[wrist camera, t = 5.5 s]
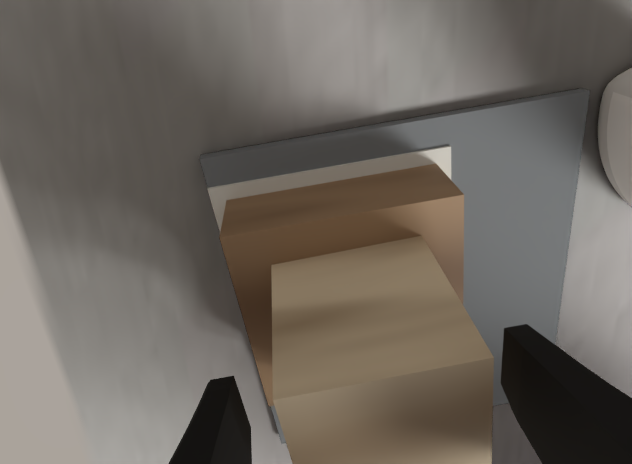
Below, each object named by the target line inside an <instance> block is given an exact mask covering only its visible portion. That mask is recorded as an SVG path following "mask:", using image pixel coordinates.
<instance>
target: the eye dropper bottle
mask: <svg viewBox="0 0 632 464" xmlns="http://www.w3.org/2000/svg"><path fill="white" fill-rule="evenodd" d="M598 145H599V152H600V157H601V161H602V164H603V167H604V170H605V172H606V175H607V177H608V179H609V181H610V182H611V184H612V186H613V187H614V188H615V190H616V191H617V193H618V194H619V195H620V196H621V197H622V199H623V200H624V201H625V202H626V203H627V204H628V205H630V206H631V207H632V68H630V69H628V70H626V71H624V72H623V73H621V74H619V75H618V76H616V77H615V78H614V79H613V80H612V81H610V82H609V83H608V85H607V87H606V88H605V90H604V92H603V96H602V100H601V104H600V110H599V119H598Z"/></svg>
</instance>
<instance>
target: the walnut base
mask: <svg viewBox="0 0 632 464" xmlns="http://www.w3.org/2000/svg"><path fill="white" fill-rule="evenodd" d="M417 236H422V237H423V238H424V240H425V242H426V243H427V245H428V247H429V249H430V250H431V252H432V254H433V255H434V257H435V259H436V260H437V262H438V264H439V265H440V267H441V269H442V270H443V272H444V274H445V276H446V277H447V279H448V281H449V282H450V284H451V286H452V287H453V289H454V291H455V292H456V294H457V296H458V298H459V299H460V301H461V303H462V304H463V280H464V194H463V193H462V192H461V191H460V189H459V188H458V187H457V186H456V185H455V184H454V183H453V182H452V181H451V179H450V178H449V177H448V176H447V175H446V174H445V173H444V172H443V170H442V169H441V168H440V167H439V166H438V165H437V164H431V165H425V166H419V167H413V168H408V169H402V170H396V171H391V172H385V173H379V174H373V175H368V176H362V177H356V178H351V179H345V180H339V181H333V182H328V183H322V184H316V185H311V186H305V187H299V188H293V189H288V190H282V191H276V192H271V193H265V194H259V195H253V196H248V197H242V198H236V199H231V200H226V205H225V210H224V216H223V221H222V226H221V232H220V237H219V238H220V241H221V245H222V248H223V252H224V255H225V259H226V262H227V265H228V269H229V272H230V276H231V279H232V283H233V286H234V289H235V293H236V296H237V300H238V303H239V307H240V310H241V313H242V317H243V320H244V324H245V327H246V331H247V334H248V337H249V341H250V344H251V348H252V351H253V354H254V358H255V361H256V365H257V368H258V372H259V375H260V378H261V382H262V385H263V389H264V392H265V396H266V399H267V402H268V406H273V405H274V403H273V372H272V275H271V265H274V264H279V263H284V262H290V261H295V260H300V259H305V258H310V257H315V256H320V255H325V254H330V253H336V252H341V251H346V250H351V249H356V248H361V247H366V246H371V245H376V244H382V243H387V242H392V241H397V240H402V239H407V238H412V237H417Z"/></svg>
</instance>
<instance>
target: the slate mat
mask: <svg viewBox="0 0 632 464" xmlns="http://www.w3.org/2000/svg"><path fill="white" fill-rule="evenodd" d="M589 95H590V91H589V90H586V89H583V88H581V89H575V90H569V91H563V92H558V93H552V94H546V95H541V96H535V97H529V98H523V99H518V100H512V101H506V102H500V103H495V104H489V105H483V106H477V107H472V108H466V109H460V110H455V111H449V112H443V113H437V114H432V115H426V116H420V117H414V118H409V119H403V120H397V121H391V122H386V123H380V124H374V125H369V126H363V127H357V128H351V129H346V130H340V131H334V132H328V133H323V134H317V135H311V136H305V137H300V138H294V139H288V140H283V141H277V142H271V143H265V144H260V145H254V146H248V147H242V148H237V149H231V150H225V151H219V152H214V153H208V154H202V155H201V156H200V163H201V166H202V170H203V173H204V177H205V180H206V184H207V187H208V189H207V190H208V193H209V197H210V200H211V203H212V207H213V210H214V214H215V217H216V221H217V224H218V228H219V231H220V232H221V226H222V221H223V216H224V210H225V205H226V200H231V199H236V198H242V197H248V196H253V195H259V194H265V193H271V192H276V191H282V190H288V189H293V188H299V187H305V186H311V185H316V184H322V183H328V182H333V181H339V180H345V179H351V178H356V177H362V176H368V175H373V174H379V173H385V172H391V171H396V170H402V169H408V168H413V167H419V166H425V165H431V164H437V165H438V166H439V167H440V168H441V169H442V170H443V172H444V173H445V174H446V175H447V176H448V177H449V178H450V179H451V181H452V182H453V183H454V184H455V185H456V186H457V187H458V188H459V189H460V191H461V192H462V193H463V194H464V280H463V306H464V308H465V309H466V311H467V313H468V314H469V316H470V318H471V320H472V321H473V323H474V325H475V326H476V328H477V330H478V331H479V333H480V335H481V336H482V338H483V340H484V342H485V343H486V345H487V347H488V348H489V350H490V352H491V353H492V355H493V357H494V376H493V406H496V405H501V404H507V403H509V402H508V399H507V397H506V395H505V392H504V390H503V388H502V385H501V367H502V352H503V336H504V328H507V327H512V326H518V325H524V324H528V325H529V326H530V327H532V328H533V329H534V330H536V331H537V332H539V333H540V334H541V335H543V336H544V337H545V338H547V339H548V340H549V341H551V342H552V343H553V344H555V342H556V335H557V327H558V320H559V313H560V306H561V298H562V291H563V284H564V276H565V269H566V262H567V255H568V247H569V240H570V233H571V226H572V218H573V211H574V204H575V196H576V189H577V182H578V175H579V167H580V160H581V153H582V145H583V138H584V131H585V124H586V116H587V109H588V102H589ZM271 409H272V412H273V416H274V419H275V423H276V426H277V430H278V433H279V437H280V440H281V444H282V443H286V440H285V437H284V434H283V431H282V428H281V425H280V421H279V418H278V415H277V412H276V409H275V406H274V405H273V406H271Z"/></svg>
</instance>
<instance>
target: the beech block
mask: <svg viewBox="0 0 632 464" xmlns="http://www.w3.org/2000/svg"><path fill="white" fill-rule="evenodd" d="M271 275H272V372H273V403H274V406H275V409H276V412H277V415H278V418H279V421H280V425H281V428H282V431H283V434H284V437H285V440H286V444H287V447H288V450H289V453H290V456H291V459H292V462H293V464H492V421H493V376H494V357H493V355H492V353H491V352H490V350H489V348H488V347H487V345H486V343H485V342H484V340H483V338H482V336H481V335H480V333H479V331H478V330H477V328H476V326H475V325H474V323H473V321H472V320H471V318H470V316H469V314H468V313H467V311H466V309H465V308H464V306H463V304H462V303H461V301H460V299H459V298H458V296H457V294H456V292H455V291H454V289H453V287H452V286H451V284H450V282H449V281H448V279H447V277H446V276H445V274H444V272H443V270H442V269H441V267H440V265H439V264H438V262H437V260H436V259H435V257H434V255H433V254H432V252H431V250H430V249H429V247H428V245H427V243H426V242H425V240H424V238H423V237H422V236H417V237H412V238H407V239H402V240H397V241H392V242H387V243H382V244H376V245H371V246H366V247H361V248H356V249H351V250H346V251H341V252H336V253H330V254H325V255H320V256H315V257H310V258H305V259H300V260H295V261H290V262H284V263H279V264H274V265H271Z"/></svg>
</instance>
